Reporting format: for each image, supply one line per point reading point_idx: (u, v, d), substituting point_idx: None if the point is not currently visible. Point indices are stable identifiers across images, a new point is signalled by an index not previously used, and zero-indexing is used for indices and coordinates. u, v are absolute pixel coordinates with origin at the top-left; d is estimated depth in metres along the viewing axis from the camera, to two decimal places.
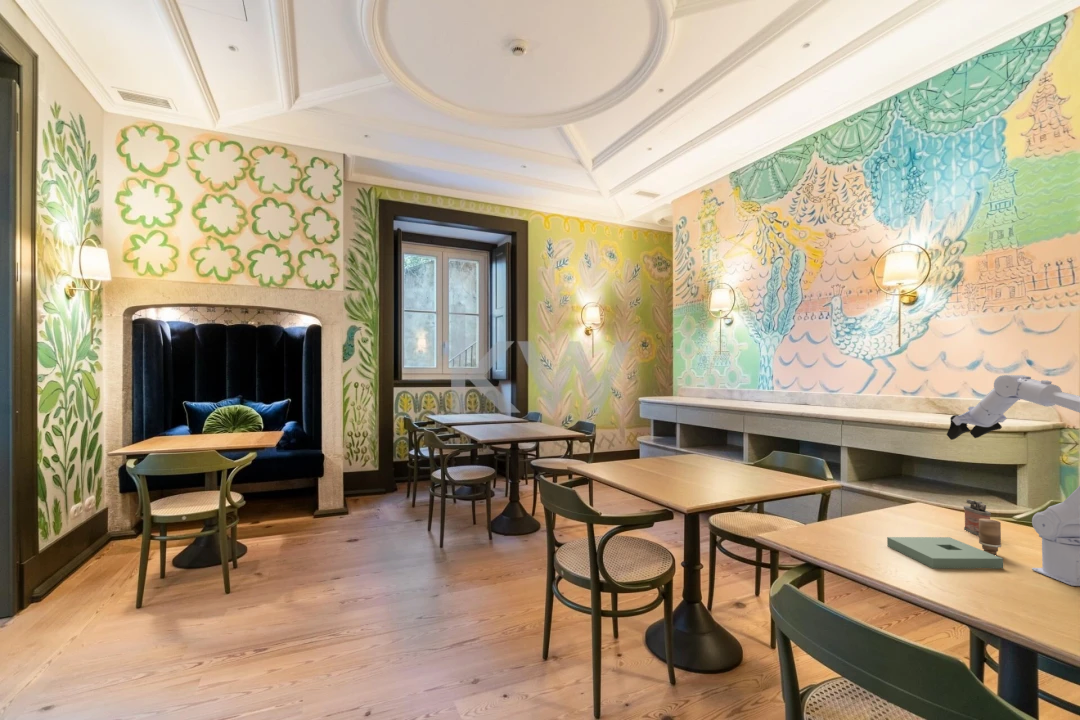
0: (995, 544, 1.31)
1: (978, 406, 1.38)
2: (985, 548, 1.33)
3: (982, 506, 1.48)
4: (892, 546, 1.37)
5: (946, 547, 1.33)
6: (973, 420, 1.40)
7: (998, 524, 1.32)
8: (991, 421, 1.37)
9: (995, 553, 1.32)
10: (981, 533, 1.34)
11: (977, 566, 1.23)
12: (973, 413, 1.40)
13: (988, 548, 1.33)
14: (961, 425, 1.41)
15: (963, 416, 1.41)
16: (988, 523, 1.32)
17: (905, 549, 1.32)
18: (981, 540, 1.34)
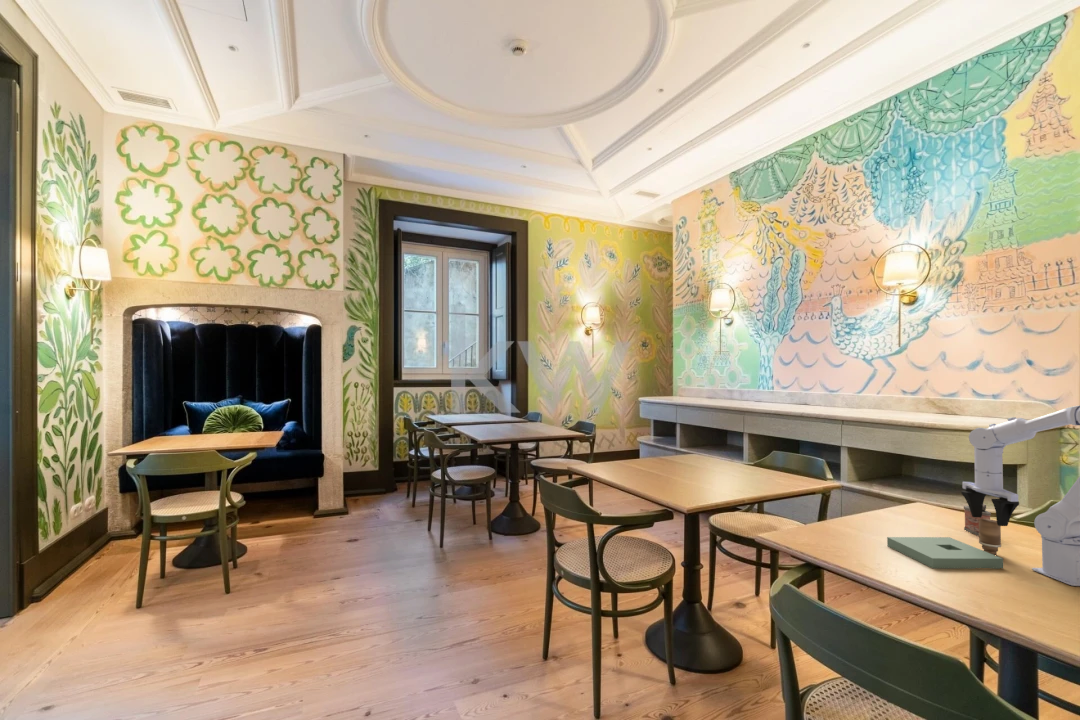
0: (995, 544, 1.31)
1: (993, 476, 1.31)
2: (985, 548, 1.33)
3: None
4: (892, 546, 1.37)
5: (946, 547, 1.33)
6: None
7: None
8: None
9: (995, 553, 1.32)
10: (981, 533, 1.34)
11: (977, 566, 1.23)
12: (995, 486, 1.31)
13: (988, 548, 1.33)
14: None
15: (1002, 493, 1.29)
16: (988, 523, 1.32)
17: (905, 549, 1.32)
18: (981, 540, 1.34)
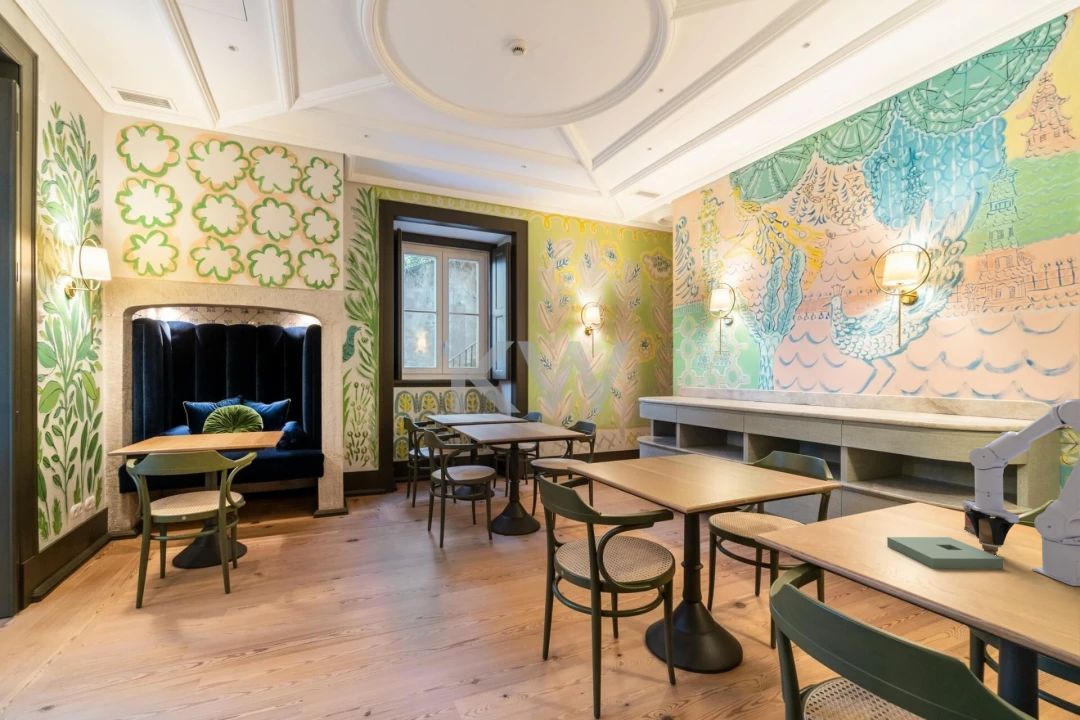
0: None
1: (993, 496, 1.31)
2: (985, 548, 1.33)
3: None
4: (892, 546, 1.37)
5: (946, 547, 1.33)
6: (1002, 511, 1.31)
7: None
8: None
9: (995, 553, 1.32)
10: (981, 533, 1.34)
11: (977, 566, 1.23)
12: (996, 506, 1.31)
13: (988, 548, 1.33)
14: None
15: None
16: (988, 523, 1.32)
17: (905, 549, 1.32)
18: (981, 540, 1.34)
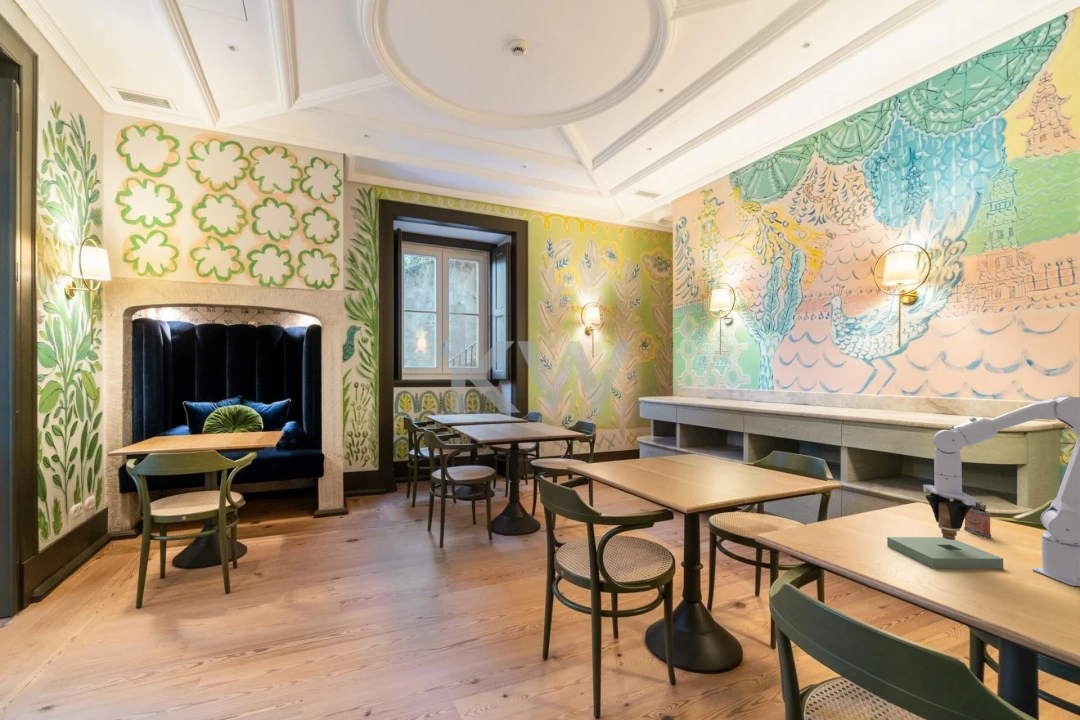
0: (954, 528, 1.29)
1: (951, 479, 1.29)
2: (944, 532, 1.31)
3: (982, 506, 1.48)
4: (892, 546, 1.37)
5: (946, 547, 1.33)
6: (960, 494, 1.29)
7: None
8: None
9: (954, 537, 1.30)
10: (941, 516, 1.32)
11: (977, 566, 1.23)
12: (954, 489, 1.29)
13: (947, 532, 1.31)
14: None
15: (960, 496, 1.27)
16: None
17: (905, 549, 1.32)
18: (940, 524, 1.32)
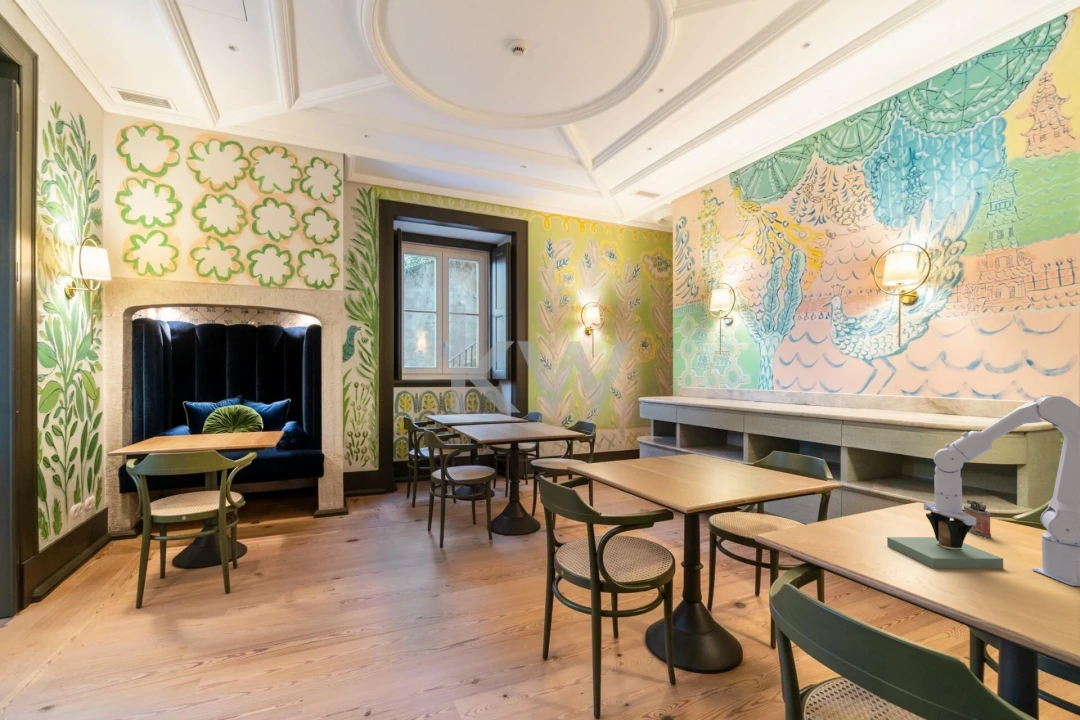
0: None
1: (951, 499, 1.29)
2: None
3: (982, 506, 1.48)
4: (892, 546, 1.37)
5: None
6: (960, 514, 1.29)
7: None
8: None
9: None
10: (941, 535, 1.32)
11: (977, 566, 1.23)
12: (954, 508, 1.29)
13: None
14: None
15: (960, 516, 1.27)
16: None
17: (905, 549, 1.32)
18: (940, 542, 1.32)
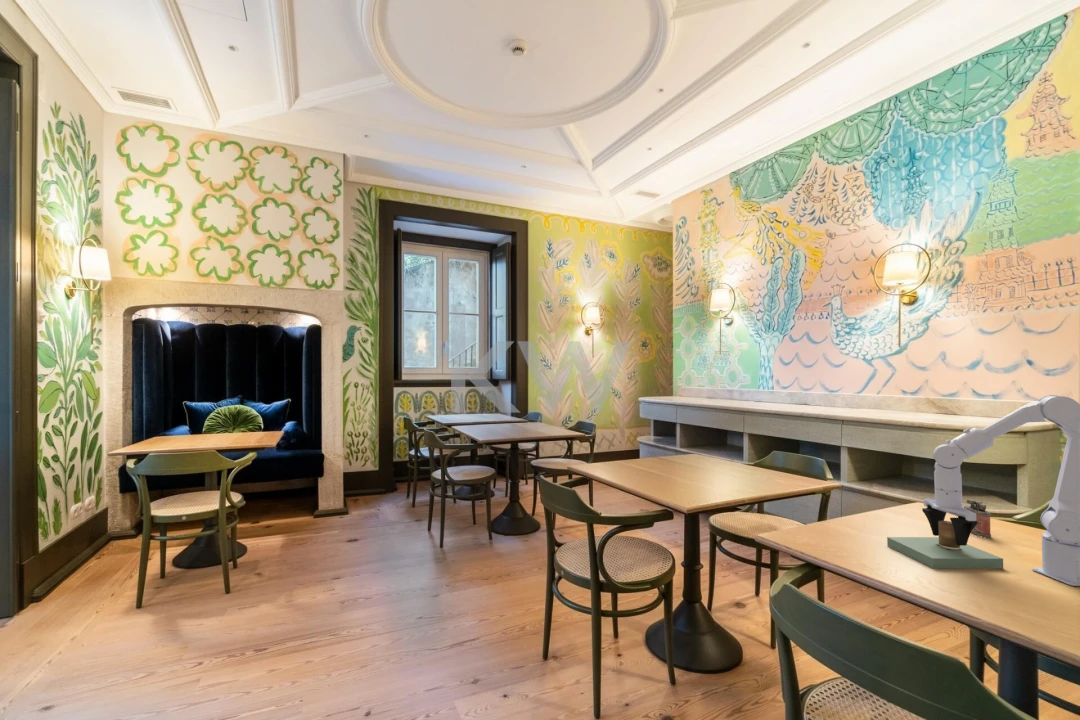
0: (954, 546, 1.29)
1: (951, 494, 1.29)
2: None
3: (982, 506, 1.48)
4: (892, 546, 1.37)
5: None
6: (961, 509, 1.29)
7: None
8: None
9: None
10: (940, 535, 1.32)
11: (977, 566, 1.23)
12: (954, 504, 1.29)
13: None
14: None
15: None
16: (947, 525, 1.30)
17: (905, 549, 1.32)
18: (940, 542, 1.32)
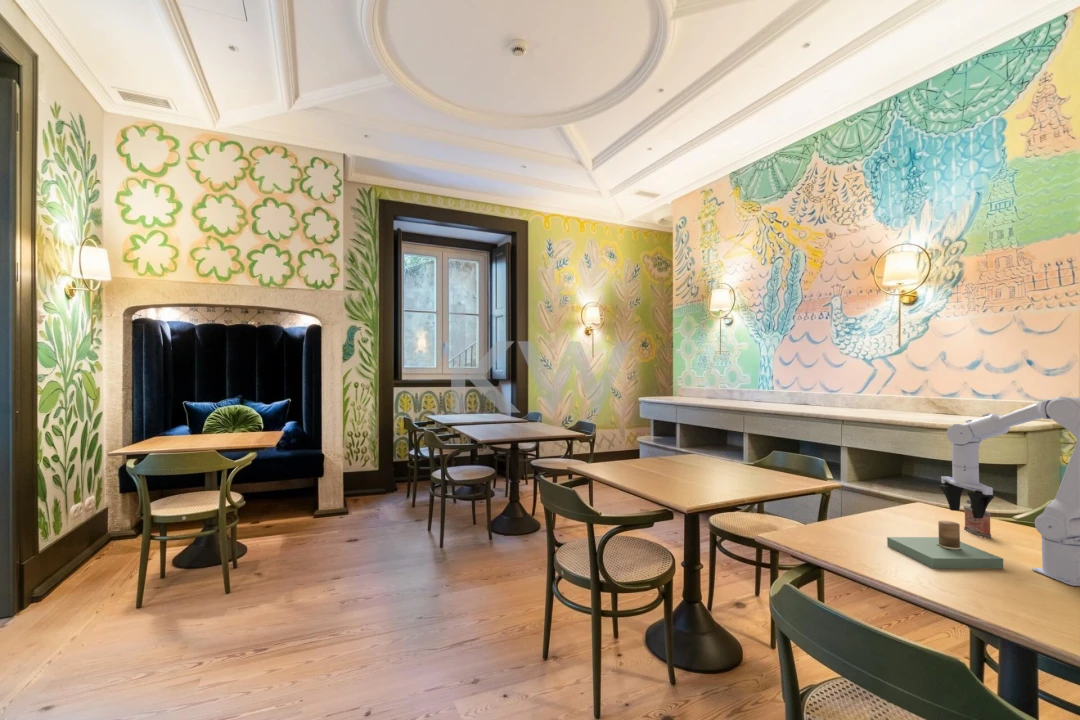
0: (954, 546, 1.29)
1: (969, 470, 1.36)
2: None
3: None
4: (892, 546, 1.37)
5: None
6: (977, 484, 1.36)
7: (957, 526, 1.29)
8: None
9: None
10: (940, 535, 1.32)
11: (977, 566, 1.23)
12: (971, 479, 1.36)
13: None
14: None
15: None
16: (947, 525, 1.30)
17: (905, 549, 1.32)
18: (940, 543, 1.32)
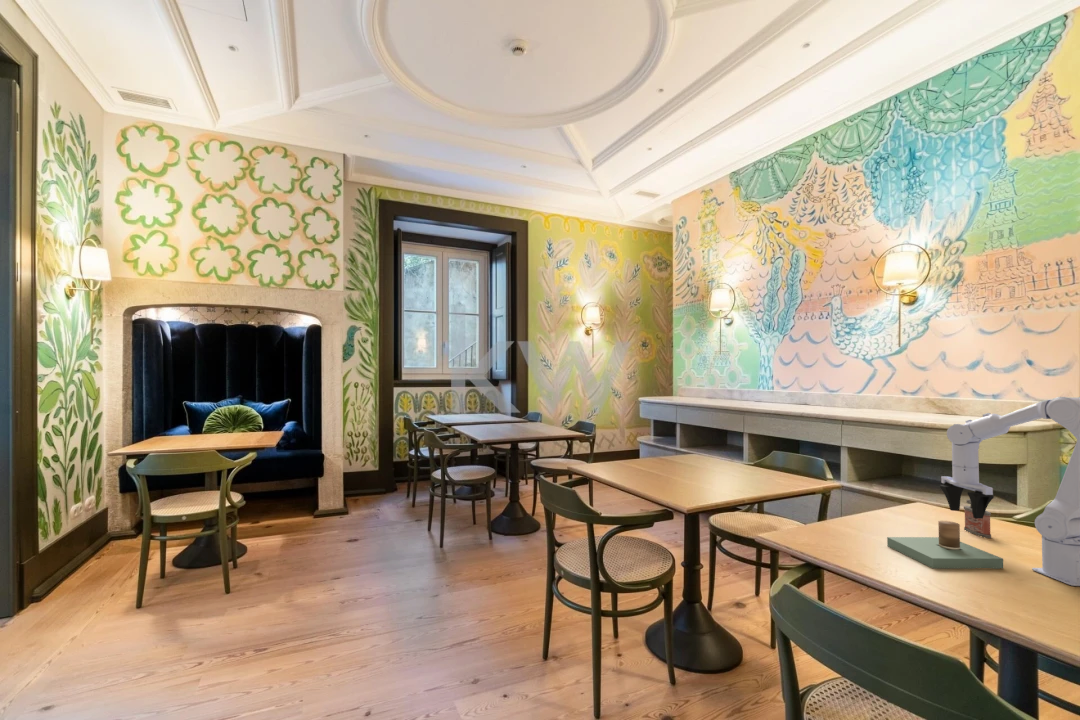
0: (954, 546, 1.29)
1: (969, 470, 1.36)
2: None
3: None
4: (892, 546, 1.37)
5: None
6: (977, 484, 1.36)
7: (957, 526, 1.29)
8: None
9: None
10: (940, 535, 1.32)
11: (977, 566, 1.23)
12: (971, 479, 1.36)
13: None
14: None
15: None
16: (947, 525, 1.30)
17: (905, 549, 1.32)
18: (940, 543, 1.32)
